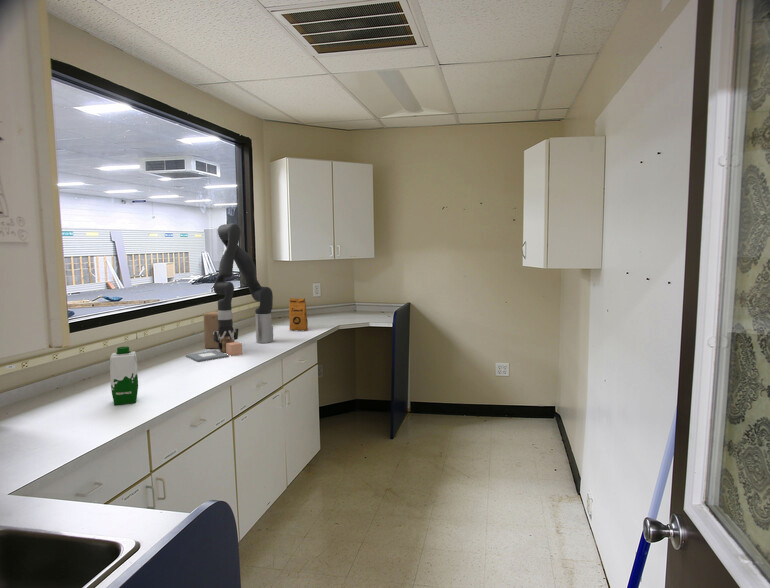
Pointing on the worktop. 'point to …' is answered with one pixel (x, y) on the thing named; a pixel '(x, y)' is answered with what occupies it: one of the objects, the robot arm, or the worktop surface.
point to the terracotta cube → (234, 348)
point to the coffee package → (298, 314)
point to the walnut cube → (225, 343)
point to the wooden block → (211, 329)
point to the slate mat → (207, 355)
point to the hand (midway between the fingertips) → (226, 348)
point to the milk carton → (124, 376)
